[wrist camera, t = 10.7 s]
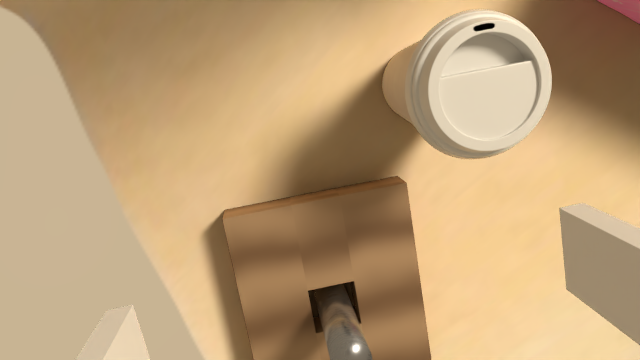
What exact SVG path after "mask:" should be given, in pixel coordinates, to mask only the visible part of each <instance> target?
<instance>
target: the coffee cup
mask: <svg viewBox="0 0 640 360" xmlns="http://www.w3.org/2000/svg"><path fill="white" fill-rule="evenodd" d="M551 88H552V74H551V68H550V63H549V60H548V57H547V55H546V53H545V51H544V49H543V47H542V45H541V44H540V42H539V40H538V39H537V38H536V36H535V35H534V34H533V33H532V32H531V31H530V30H529V29H528V28H527V27H526V26H525V25H524V24H523V23H521V22H520V21H518V20H517V19H515V18H513V17H511V16H509V15H506V14H504V13H501V12H497V11H493V10H486V9H475V10H468V11H463V12H460V13H457V14H454V15H452V16H450V17H448V18H446V19H444V20H443V21H441V22H440V23H438V24H437V25H435V26H434V27H433V28H432V29H431V30H430V31H429V32H428V33H427V34H426V35H425V36H424V37H423V39H422V40H420V41H418V42H416V43H414V44H413V45H411V46H409V47H407V48H405V49H403V50H401V51H400V52H398V53H397V54H396V55H395V56H393V58H392V59H391V60H390V61H389V63H388V64H387V66H386V68H385V71H384V74H383V79H382V90H383V94H384V97H385V100H386V102H387V104H388V105H389V106H390V108H391V109H392V110H393V111H394V112H395V113H397V114H398V115H400V116H401V117H403V118H404V119H406V120H407V121H409V122H410V123H411V124H413V125H414V126H415V128H416V129H417V131H418V132H419V134H420V135H421V136H422V137H423V138H424V139H425V140H426V141H427V142H428V143H429V144H430V145H431V146H433V147H434V148H435V149H437V150H439V151H440V152H442V153H444V154H447V155H449V156H452V157H456V158H461V159H481V158H487V157H491V156H494V155H498V154H500V153H503V152H505V151H507V150H509V149H510V148H512V147H514V146H515V145H516V144H518V143H519V142H520V141H522V140H523V139H524V138H525V137H526V136H527V135H528V134H529V133H530V132H531V131H532V130H533V129H534V128H535V126H536V125H537V124H538V122H539V121H540V119H541V118H542V116H543V114H544V112H545V110H546V108H547V105H548V102H549V99H550V94H551Z"/></svg>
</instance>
